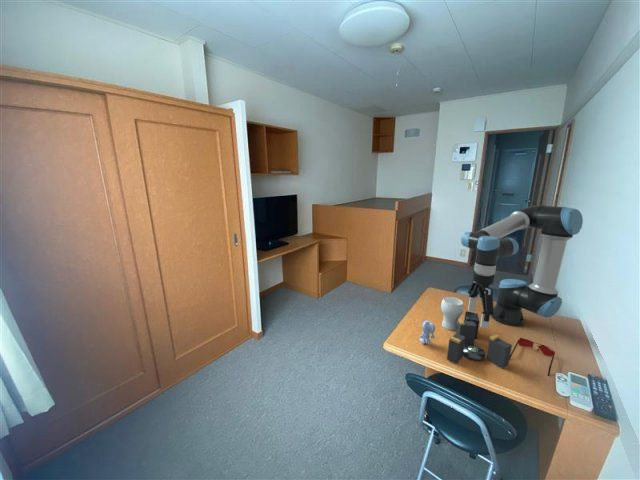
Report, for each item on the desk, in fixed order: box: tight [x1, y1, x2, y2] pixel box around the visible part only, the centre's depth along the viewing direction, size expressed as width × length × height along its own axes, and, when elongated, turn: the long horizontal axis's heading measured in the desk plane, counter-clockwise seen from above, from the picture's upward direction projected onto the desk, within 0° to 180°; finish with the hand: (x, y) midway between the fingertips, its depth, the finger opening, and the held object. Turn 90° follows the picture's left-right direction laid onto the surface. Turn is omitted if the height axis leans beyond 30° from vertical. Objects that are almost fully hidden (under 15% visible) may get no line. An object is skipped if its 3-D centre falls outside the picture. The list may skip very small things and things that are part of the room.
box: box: [463, 310, 480, 340], centre depth 135 cm, size 8×6×11 cm
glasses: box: [509, 337, 556, 377], centre depth 118 cm, size 14×16×5 cm
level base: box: [462, 343, 486, 363], centre depth 120 cm, size 10×10×4 cm
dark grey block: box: [446, 333, 466, 365], centre depth 117 cm, size 7×4×11 cm, turn 131°
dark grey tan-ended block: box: [485, 333, 513, 369], centre depth 114 cm, size 7×4×11 cm, turn 26°
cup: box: [440, 296, 464, 331], centre depth 142 cm, size 11×11×15 cm
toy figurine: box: [419, 320, 436, 345], centre depth 128 cm, size 7×6×12 cm
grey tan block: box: [455, 318, 477, 345], centre depth 129 cm, size 7×4×11 cm, turn 81°
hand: (477, 318), depth 116 cm, fingers open, 13 cm apart
